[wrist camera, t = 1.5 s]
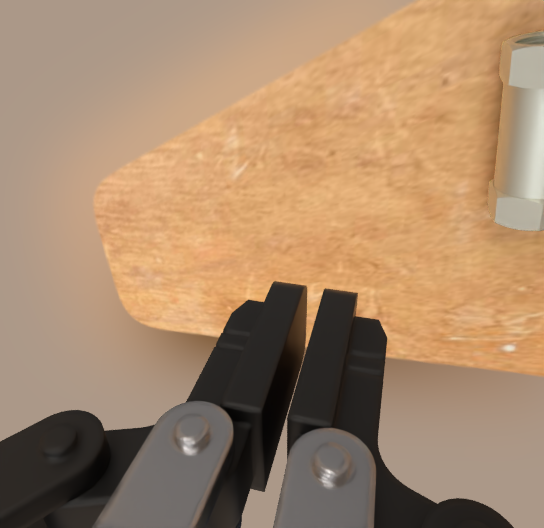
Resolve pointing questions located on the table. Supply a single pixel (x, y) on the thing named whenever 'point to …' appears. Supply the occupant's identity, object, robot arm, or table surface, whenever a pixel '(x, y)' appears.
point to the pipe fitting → (520, 136)
